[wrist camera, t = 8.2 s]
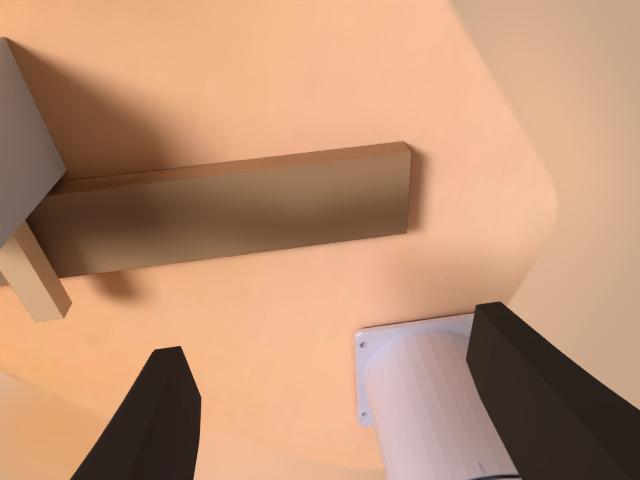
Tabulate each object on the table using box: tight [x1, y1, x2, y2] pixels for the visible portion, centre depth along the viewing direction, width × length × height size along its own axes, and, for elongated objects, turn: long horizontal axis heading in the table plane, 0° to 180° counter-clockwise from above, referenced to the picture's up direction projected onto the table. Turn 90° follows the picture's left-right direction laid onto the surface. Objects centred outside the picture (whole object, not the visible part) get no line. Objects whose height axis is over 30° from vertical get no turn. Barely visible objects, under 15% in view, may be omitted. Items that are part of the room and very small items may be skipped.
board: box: [0, 141, 411, 286], centre depth 18 cm, size 4×22×1 cm, turn 94°
